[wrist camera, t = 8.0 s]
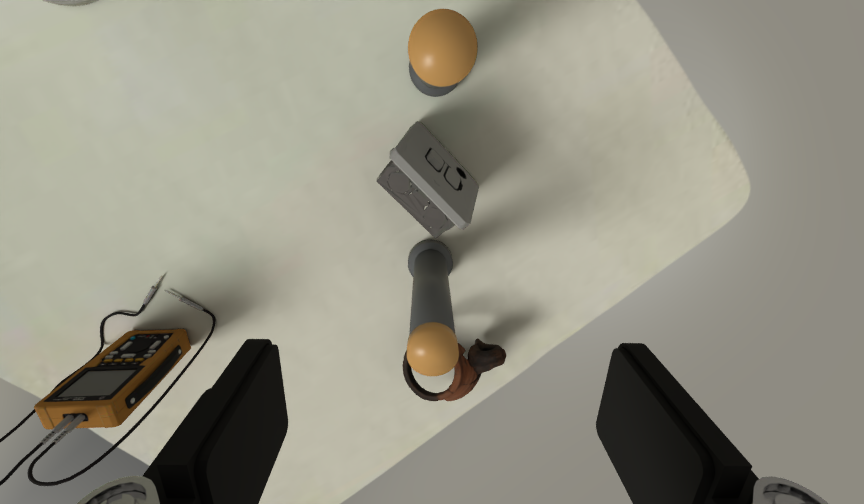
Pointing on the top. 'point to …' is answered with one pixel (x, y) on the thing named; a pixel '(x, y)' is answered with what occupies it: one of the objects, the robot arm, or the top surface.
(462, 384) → the brown curved hollow piece
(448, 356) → the post far
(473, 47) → the post near
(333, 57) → the top surface
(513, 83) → the top surface
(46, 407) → the multimeter
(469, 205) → the electrical switch
